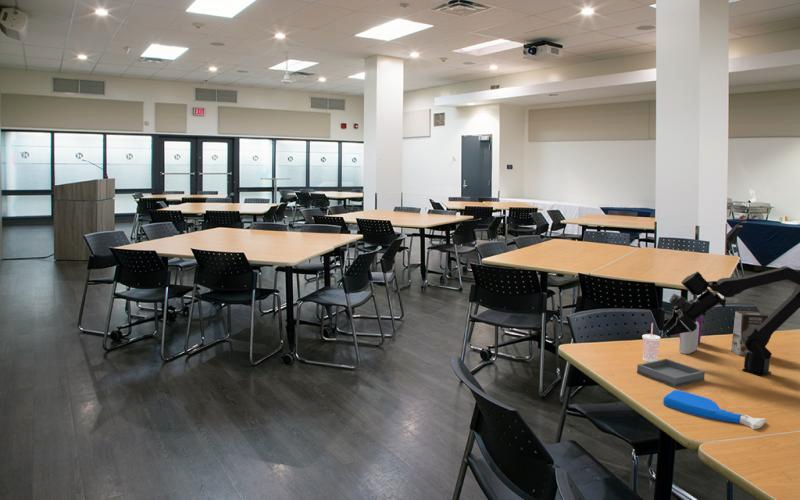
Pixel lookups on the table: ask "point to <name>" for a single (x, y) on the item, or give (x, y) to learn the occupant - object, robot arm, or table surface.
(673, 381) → the tray
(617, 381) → the table surface
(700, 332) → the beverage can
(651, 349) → the beverage cup
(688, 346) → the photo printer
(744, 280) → the robot arm
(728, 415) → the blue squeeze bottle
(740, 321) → the coffee box
